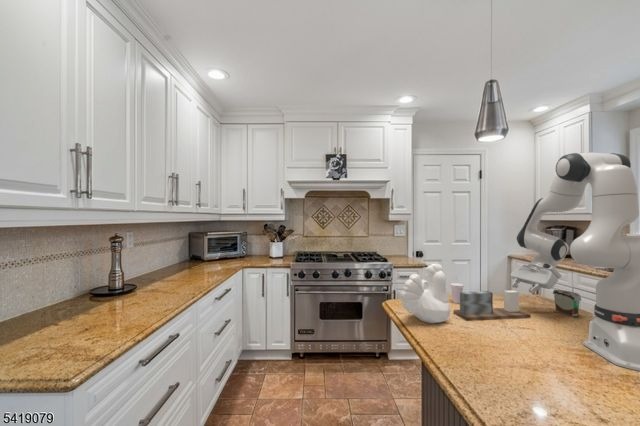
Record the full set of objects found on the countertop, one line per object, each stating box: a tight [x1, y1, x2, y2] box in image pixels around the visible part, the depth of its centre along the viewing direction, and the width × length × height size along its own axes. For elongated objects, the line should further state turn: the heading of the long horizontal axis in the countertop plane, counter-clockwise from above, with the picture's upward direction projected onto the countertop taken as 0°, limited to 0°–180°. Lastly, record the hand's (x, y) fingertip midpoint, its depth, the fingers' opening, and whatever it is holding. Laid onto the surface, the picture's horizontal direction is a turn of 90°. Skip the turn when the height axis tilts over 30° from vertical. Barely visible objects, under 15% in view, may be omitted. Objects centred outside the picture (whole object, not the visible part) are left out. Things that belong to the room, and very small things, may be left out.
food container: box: [552, 289, 582, 319], centre depth 131 cm, size 12×6×10 cm, turn 179°
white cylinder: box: [503, 290, 520, 312], centre depth 131 cm, size 5×3×9 cm, turn 97°
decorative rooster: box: [400, 263, 451, 324], centre depth 124 cm, size 25×16×25 cm, turn 105°
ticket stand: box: [453, 290, 532, 322], centre depth 130 cm, size 31×10×11 cm, turn 97°
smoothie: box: [450, 275, 464, 305], centre depth 149 cm, size 6×6×14 cm
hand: (522, 289), depth 131 cm, fingers open, 8 cm apart
